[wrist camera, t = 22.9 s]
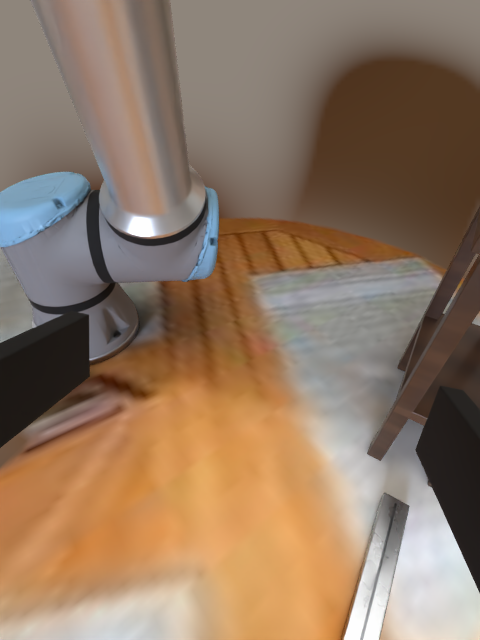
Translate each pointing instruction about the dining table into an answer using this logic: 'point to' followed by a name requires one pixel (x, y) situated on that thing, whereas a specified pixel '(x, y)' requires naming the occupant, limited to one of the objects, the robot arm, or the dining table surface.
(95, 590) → the dining table surface
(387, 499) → the blue grooved block
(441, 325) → the stand
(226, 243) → the dining table surface
